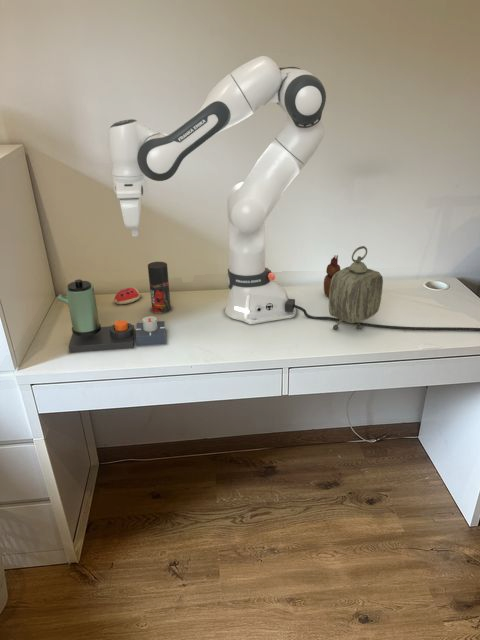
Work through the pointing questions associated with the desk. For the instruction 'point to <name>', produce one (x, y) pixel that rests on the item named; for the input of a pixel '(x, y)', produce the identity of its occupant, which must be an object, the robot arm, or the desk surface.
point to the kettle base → (103, 340)
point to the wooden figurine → (330, 274)
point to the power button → (121, 325)
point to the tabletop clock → (355, 292)
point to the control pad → (150, 335)
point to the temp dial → (149, 323)
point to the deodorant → (159, 287)
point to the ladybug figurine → (127, 296)
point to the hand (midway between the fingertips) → (135, 234)
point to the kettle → (82, 308)
